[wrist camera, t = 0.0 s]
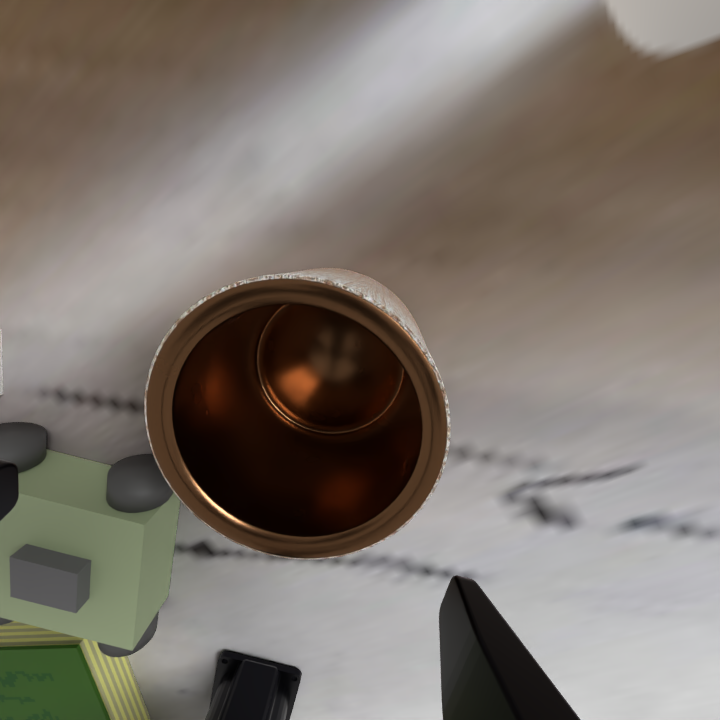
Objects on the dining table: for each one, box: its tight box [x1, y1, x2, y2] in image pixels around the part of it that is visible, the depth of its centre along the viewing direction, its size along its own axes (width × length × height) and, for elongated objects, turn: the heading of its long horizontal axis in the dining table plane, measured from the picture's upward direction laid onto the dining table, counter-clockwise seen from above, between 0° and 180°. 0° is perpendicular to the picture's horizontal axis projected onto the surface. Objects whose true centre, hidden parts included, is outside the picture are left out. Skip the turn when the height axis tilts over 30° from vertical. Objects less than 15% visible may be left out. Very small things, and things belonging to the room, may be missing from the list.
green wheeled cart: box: [0, 422, 180, 657], centre depth 23 cm, size 13×12×5 cm
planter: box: [144, 268, 451, 560], centre depth 17 cm, size 11×11×10 cm
